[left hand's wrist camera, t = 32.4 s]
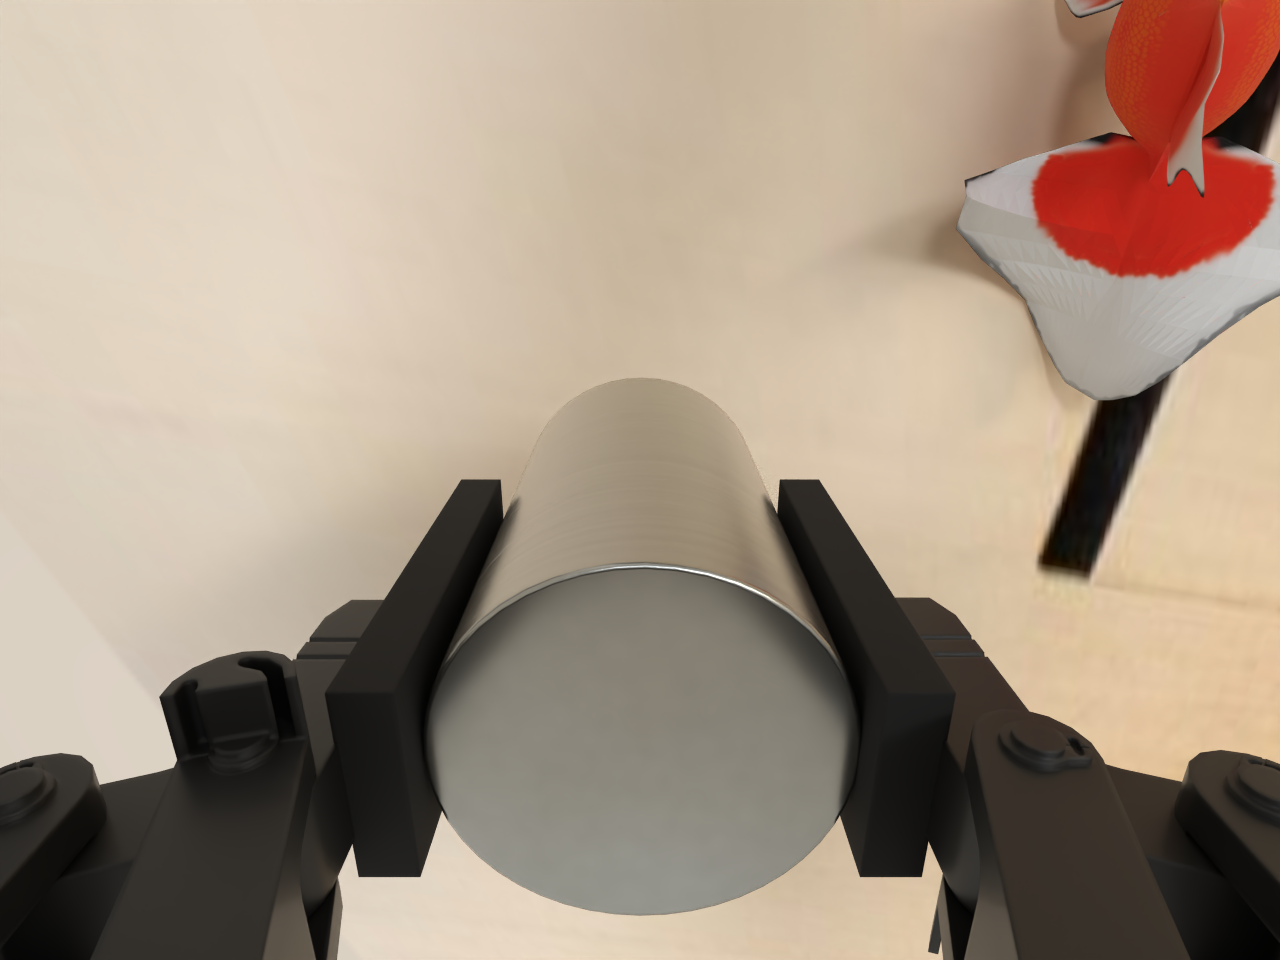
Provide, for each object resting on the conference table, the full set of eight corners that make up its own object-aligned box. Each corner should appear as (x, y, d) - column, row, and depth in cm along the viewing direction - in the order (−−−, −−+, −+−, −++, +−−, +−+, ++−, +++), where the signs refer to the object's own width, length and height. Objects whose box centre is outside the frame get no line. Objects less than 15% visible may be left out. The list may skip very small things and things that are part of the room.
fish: (1583, -123, 19) (1859, -107, 12) (1159, 357, 30) (1178, 507, 23) (1165, -233, 21) (1199, -273, 14) (912, 257, 32) (862, 368, 25)
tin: (746, 588, 18) (838, 919, 10) (532, 587, 18) (441, 916, 10) (762, 378, 16) (892, 566, 8) (523, 375, 16) (398, 561, 8)
